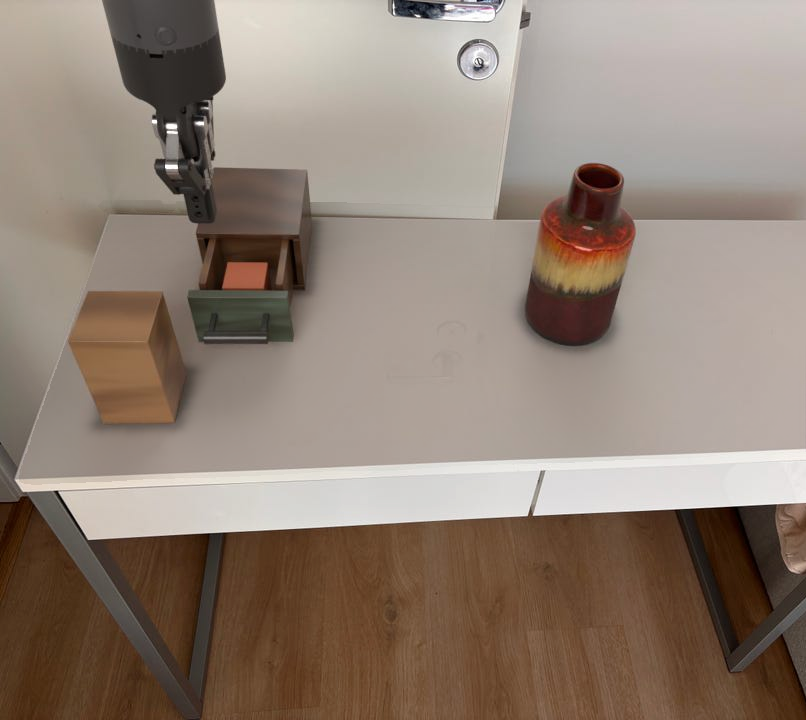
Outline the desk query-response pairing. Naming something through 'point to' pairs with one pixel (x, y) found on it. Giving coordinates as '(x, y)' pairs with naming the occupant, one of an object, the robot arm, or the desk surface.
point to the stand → (129, 356)
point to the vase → (580, 258)
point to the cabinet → (262, 211)
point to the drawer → (244, 294)
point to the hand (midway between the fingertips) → (203, 218)
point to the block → (247, 276)
